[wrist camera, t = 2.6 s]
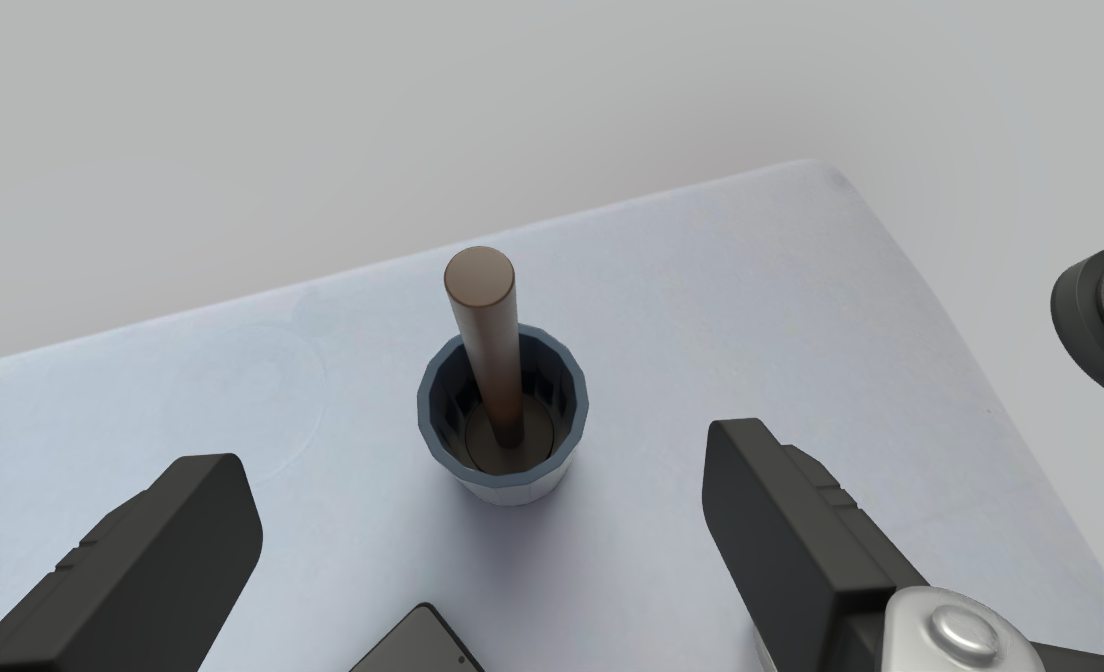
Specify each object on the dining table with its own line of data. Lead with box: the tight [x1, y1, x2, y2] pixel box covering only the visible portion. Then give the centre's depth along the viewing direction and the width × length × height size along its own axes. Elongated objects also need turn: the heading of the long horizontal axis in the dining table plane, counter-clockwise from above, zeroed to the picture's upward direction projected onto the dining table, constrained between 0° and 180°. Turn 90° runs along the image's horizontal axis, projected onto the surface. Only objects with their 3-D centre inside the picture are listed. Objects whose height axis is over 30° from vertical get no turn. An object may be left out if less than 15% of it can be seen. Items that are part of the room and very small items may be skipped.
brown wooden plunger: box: [444, 246, 554, 476], centre depth 21 cm, size 5×5×20 cm
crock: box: [417, 323, 589, 506], centre depth 26 cm, size 7×7×10 cm
